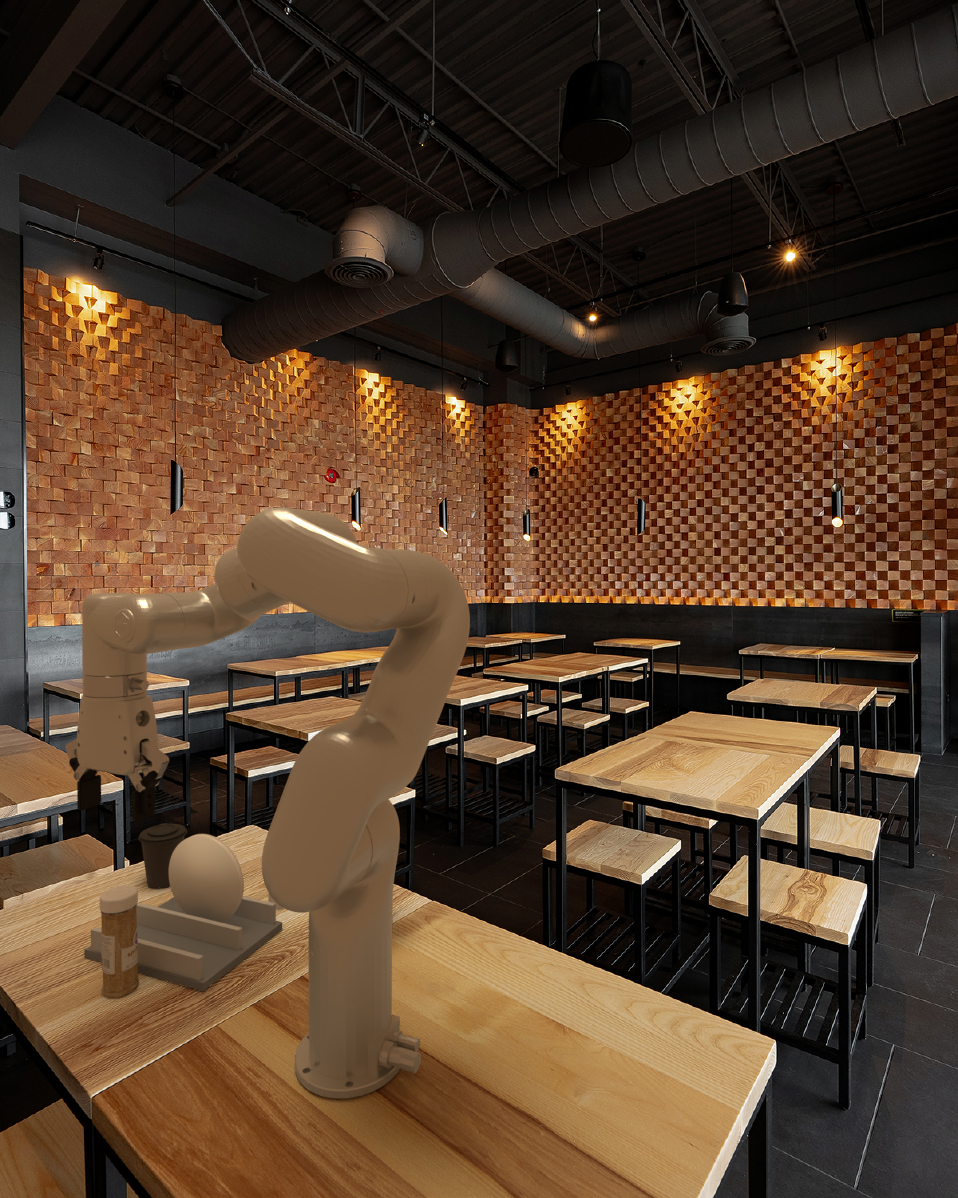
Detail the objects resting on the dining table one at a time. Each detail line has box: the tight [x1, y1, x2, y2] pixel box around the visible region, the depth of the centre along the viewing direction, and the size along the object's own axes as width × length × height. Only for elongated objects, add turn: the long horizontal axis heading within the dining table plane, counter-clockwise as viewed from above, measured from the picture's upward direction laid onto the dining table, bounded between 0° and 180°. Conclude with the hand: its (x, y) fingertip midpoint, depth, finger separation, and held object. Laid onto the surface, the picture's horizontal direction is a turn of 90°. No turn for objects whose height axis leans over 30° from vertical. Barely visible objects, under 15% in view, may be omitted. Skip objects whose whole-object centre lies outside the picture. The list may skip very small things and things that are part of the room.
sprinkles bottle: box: [99, 884, 140, 999], centre depth 92 cm, size 5×5×13 cm
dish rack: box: [83, 833, 283, 992], centre depth 103 cm, size 22×17×15 cm
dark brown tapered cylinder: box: [137, 822, 188, 890], centre depth 123 cm, size 8×8×10 cm
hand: (116, 812), depth 91 cm, fingers open, 9 cm apart
